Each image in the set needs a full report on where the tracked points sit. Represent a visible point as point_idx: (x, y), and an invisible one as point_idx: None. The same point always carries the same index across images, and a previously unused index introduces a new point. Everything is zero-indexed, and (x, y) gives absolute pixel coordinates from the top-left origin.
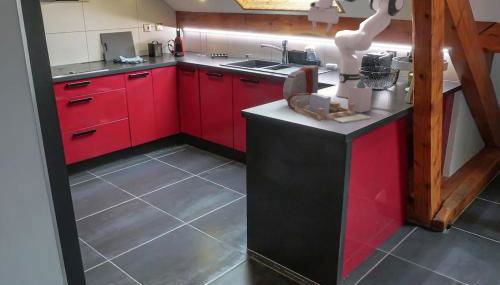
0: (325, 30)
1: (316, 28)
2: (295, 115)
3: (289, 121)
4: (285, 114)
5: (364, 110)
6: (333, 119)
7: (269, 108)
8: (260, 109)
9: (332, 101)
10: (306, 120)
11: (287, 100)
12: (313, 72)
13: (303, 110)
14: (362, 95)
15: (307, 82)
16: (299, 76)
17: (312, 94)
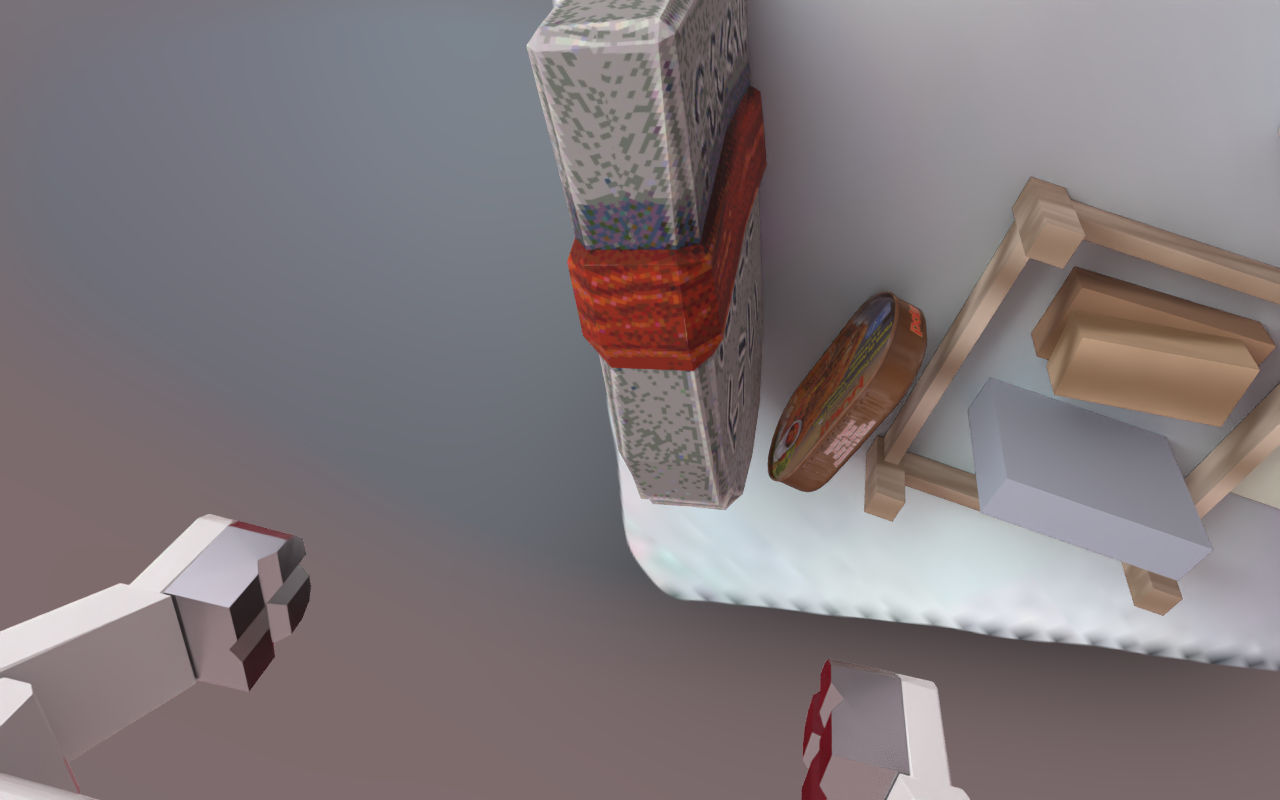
0: (814, 749)
1: (262, 570)
2: (929, 524)
3: (968, 624)
4: (861, 536)
5: None
6: (1236, 491)
7: None
8: (669, 525)
9: (1161, 353)
10: (1051, 573)
11: (770, 465)
12: (700, 156)
13: (961, 500)
14: None
15: (739, 255)
16: (726, 440)
17: (1003, 517)
